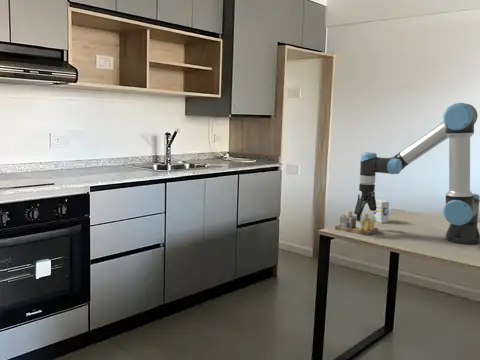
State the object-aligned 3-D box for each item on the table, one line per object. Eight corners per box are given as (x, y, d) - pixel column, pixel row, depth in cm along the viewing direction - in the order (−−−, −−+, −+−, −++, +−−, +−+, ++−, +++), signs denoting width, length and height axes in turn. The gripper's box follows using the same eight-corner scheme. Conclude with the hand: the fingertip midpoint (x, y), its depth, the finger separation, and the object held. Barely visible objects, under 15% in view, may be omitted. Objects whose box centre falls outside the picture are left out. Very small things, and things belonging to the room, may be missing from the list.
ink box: (388, 222, 273) (389, 201, 272) (380, 223, 272) (382, 202, 270) (379, 219, 281) (380, 198, 280) (371, 220, 279) (372, 199, 278)
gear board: (378, 231, 253) (379, 213, 252) (367, 235, 244) (368, 217, 243) (346, 225, 264) (347, 208, 263) (335, 229, 255) (335, 212, 254)
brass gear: (362, 226, 257) (363, 216, 256) (375, 229, 251) (376, 219, 250) (353, 228, 251) (354, 218, 251) (366, 231, 246) (367, 221, 245)
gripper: (371, 180, 260) (368, 220, 263) (348, 185, 241) (346, 228, 244) (384, 181, 255) (382, 222, 258) (362, 187, 236) (360, 230, 239)
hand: (364, 225), depth 251 cm, fingers open, 13 cm apart
